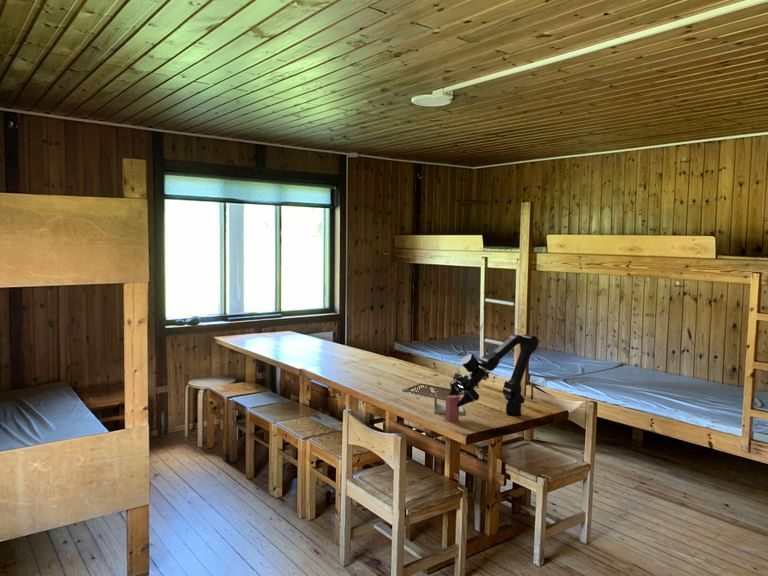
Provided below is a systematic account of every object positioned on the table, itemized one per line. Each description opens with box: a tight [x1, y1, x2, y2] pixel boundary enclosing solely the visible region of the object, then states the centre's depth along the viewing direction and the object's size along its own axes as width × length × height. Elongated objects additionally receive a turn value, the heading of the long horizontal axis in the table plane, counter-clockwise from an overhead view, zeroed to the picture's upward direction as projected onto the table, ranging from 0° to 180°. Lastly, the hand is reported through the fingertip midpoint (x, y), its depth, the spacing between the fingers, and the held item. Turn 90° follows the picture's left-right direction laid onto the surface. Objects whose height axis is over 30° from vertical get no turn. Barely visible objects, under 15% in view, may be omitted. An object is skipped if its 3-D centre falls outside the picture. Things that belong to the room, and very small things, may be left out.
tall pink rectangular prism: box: [444, 395, 461, 422], centre depth 261 cm, size 5×4×11 cm
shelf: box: [433, 391, 465, 415], centre depth 277 cm, size 14×12×8 cm
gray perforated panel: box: [402, 382, 464, 401], centre depth 309 cm, size 19×2×30 cm
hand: (452, 403), depth 261 cm, fingers open, 9 cm apart
